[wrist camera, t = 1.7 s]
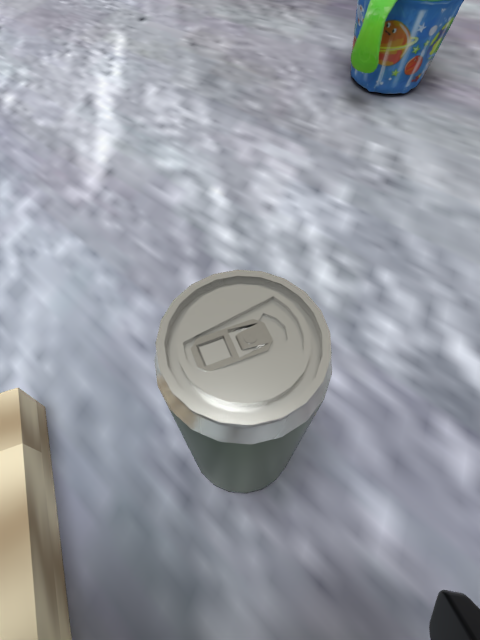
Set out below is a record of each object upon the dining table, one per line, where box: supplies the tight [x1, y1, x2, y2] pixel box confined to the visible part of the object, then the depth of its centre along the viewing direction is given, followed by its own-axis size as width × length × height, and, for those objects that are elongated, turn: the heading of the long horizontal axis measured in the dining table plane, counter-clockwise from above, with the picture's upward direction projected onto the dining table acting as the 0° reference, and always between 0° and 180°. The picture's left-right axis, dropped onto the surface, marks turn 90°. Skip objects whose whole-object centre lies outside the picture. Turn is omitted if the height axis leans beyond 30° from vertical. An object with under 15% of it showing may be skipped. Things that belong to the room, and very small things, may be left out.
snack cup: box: [351, 0, 464, 94], centre depth 37 cm, size 16×10×10 cm
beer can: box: [155, 270, 332, 493], centre depth 16 cm, size 5×5×12 cm
